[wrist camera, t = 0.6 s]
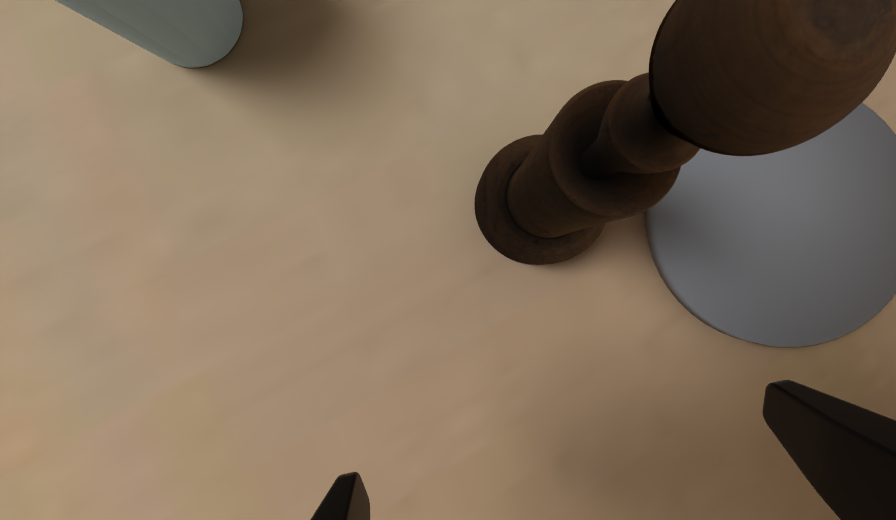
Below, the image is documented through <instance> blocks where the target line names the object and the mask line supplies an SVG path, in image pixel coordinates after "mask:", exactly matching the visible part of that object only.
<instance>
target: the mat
mask: <svg viewBox="0 0 896 520" xmlns="http://www.w3.org/2000/svg"><path fill="white" fill-rule="evenodd" d="M645 221H646V232H647V238H648V244H649V247H650V251H651V254H652V257H653V260H654V263H655V265H656V267H657V269H658V272H659V274H660V276H661V277H662V279H663V281H664V282H665V284H666V285H667V287H668V289H669V290H670V291H671V293H672V294H673V295H674V296H675V297H676V299H677V300H678V301H679V302H680V303H681V304H682V305H683V306H684V307H685V308H686V309H687V310H688V311H689V312H690V313H691V314H692V315H694V316H695V317H697V318H698V319H699V320H701V321H702V322H703V323H705V324H707V325H708V326H710V327H712V328H714V329H716V330H718V331H719V332H722V333H724V334H727V335H729V336H732V337H735V338H738V339H742V340H746V341H750V342H754V343H758V344H762V345H767V346H776V347H803V346H810V345H816V344H820V343H824V342H827V341H830V340H834V339H837V338H839V337H841V336H843V335H845V334H848V333H850V332H852V331H854V330H855V329H857V328H858V327H860V326H862V325H863V324H865V323H866V322H868V321H869V320H870V319H871V318H873V317H874V316H875V315H876V314H877V313H879V312H880V311H881V310H882V309H883V308H884V306H885V305H886V304H887V303H888V302H889V301H890V300H891V299H892V298H893V296H894V295H895V293H896V135H895V133H894V132H893V131H892V130H891V128H890V127H889V126H888V125H887V124H886V122H885V121H884V120H882V119H881V118H880V117H879V116H878V115H877V114H876V113H875V112H874V111H873V110H872V109H870V108H869V107H867V106H866V105H865V104H863V103H861V104H860V105H859V106H858V107H857V108H856V109H854V110H853V111H852V112H851V113H850V114H849V115H848V116H846V117H845V118H844V119H843V120H841V121H840V122H838V123H837V124H836V125H834V126H833V127H831V128H830V129H828V130H826V131H825V132H823V133H821V134H820V135H818V136H816V137H814V138H812V139H810V140H808V141H806V142H804V143H801V144H799V145H797V146H794V147H791V148H788V149H785V150H782V151H778V152H774V153H770V154H765V155H756V156H730V155H723V154H718V153H713V152H710V151H706V150H704V149H701V148H700V150H699V151H698V152H697V154H696V155H695V156H694V157H693V158H692V159H691V160H690V161H688V162H687V163H685V164H684V165H682V166H681V169H680V172H679V175H678V177H677V179H676V181H675V183H674V185H673V187H672V188H671V189H670V191H669V192H668V193H667V194H666V195H665V196H664V198H663V199H662V200H661V201H659V202H658V203H657V204H656V205H654V206H653V207H651V208H650V209H648V210H646V211H645Z"/></svg>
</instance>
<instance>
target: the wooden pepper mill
mask: <svg viewBox="0 0 896 520" xmlns="http://www.w3.org/2000/svg"><path fill="white" fill-rule="evenodd" d="M895 53H896V0H676V1H675V2H674V3H673V5H672V6H671V8H670V9H669V11H668V12H667V14H666V16H665V17H664V19H663V21H662V23H661V25H660V27H659V29H658V32H657V34H656V37H655V40H654V43H653V46H652V50H651V55H650V61H649V73H645V74H642V75H639V76H636V77H634V78H632V79H631V80H629V81H624V80H611V81H604V82H600V83H597V84H594V85H591V86H589V87H587V88H585V89H583V90H582V91H580V92H579V93H577V94H576V95H574V96H573V97H572V98H571V99H570V100H569V101H568V102H567V103H566V104H565V105H564V106H563V108H562V109H561V110H560V112H559V113H558V114H557V116H556V117H555V119H554V120H553V121H552V123H551V124H550V126H549V127H548V128H547V130H546V131H545V133H544V134H543V135H532V136H527V137H524V138H521V139H518V140H516V141H514V142H512V143H510V144H508V145H507V146H505V147H504V148H503V149H501V150H500V151H499V152H498V153H497V154H496V155H495V156H494V157H493V158H492V159H491V161H490V162H489V164H488V165H487V167H486V168H485V170H484V172H483V174H482V177H481V179H480V181H479V184H478V186H477V190H476V195H475V214H476V219H477V222H478V225H479V227H480V230H481V232H482V233H483V235H484V237H485V238H486V240H487V241H488V242H489V243H490V244H491V245H492V246H493V247H494V248H495V249H496V250H497V251H498V252H499V253H501V254H502V255H504V256H506V257H507V258H509V259H512V260H514V261H517V262H520V263H525V264H534V265H539V264H551V263H557V262H561V261H564V260H567V259H570V258H572V257H574V256H576V255H578V254H579V253H581V252H582V251H584V250H585V249H586V248H588V247H589V246H590V245H591V244H592V243H593V242H594V241H595V240H596V238H597V237H598V236H599V234H600V233H601V231H602V229H603V228H604V225H605V223H606V222H609V221H613V220H617V219H622V218H625V217H629V216H633V215H636V214H639V213H642V212H644V211H646V210H648V209H650V208H651V207H653V206H654V205H656V204H657V203H658V202H659V201H661V200H662V199H663V198H664V196H665V195H666V194H667V193H668V192H669V191H670V189H671V188H672V187H673V185H674V183H675V181H676V179H677V177H678V175H679V172H680V169H681V166H682V165H684V164H685V163H687V162H688V161H690V160H691V159H692V158H693V157H694V156H695V155H696V154H697V152H698V151H699V150H700V148H701V149H704V150H706V151H710V152H713V153H718V154H723V155H730V156H756V155H765V154H770V153H774V152H778V151H782V150H785V149H788V148H791V147H794V146H797V145H799V144H801V143H804V142H806V141H808V140H810V139H812V138H814V137H816V136H818V135H820V134H821V133H823V132H825V131H826V130H828V129H830V128H831V127H833V126H834V125H836V124H837V123H838V122H840V121H841V120H843V119H844V118H845V117H846V116H848V115H849V114H850V113H851V112H852V111H853V110H854V109H856V108H857V107H858V106H859V105H860V104H861V103H862V102H863V101H864V100H865V99H866V98H867V97H868V96H869V94H870V93H871V92H872V91H873V89H874V88H875V87H876V85H877V84H878V83H879V81H880V80H881V78H882V77H883V75H884V74H885V72H886V71H887V69H888V67H889V65H890V63H891V62H892V60H893V58H894V55H895Z"/></svg>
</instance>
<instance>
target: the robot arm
mask: <svg viewBox="0 0 896 520" xmlns="http://www.w3.org/2000/svg"><path fill="white" fill-rule="evenodd" d="M763 416H764V419H765V421H766V423H767V425H768V426H769V428H770V429H771V430H772V432H773V433H774V434H775V436H776V437H777V438H778V440H779V441H780V443H781V444H782V445H783V447H784V448H785V449H786V451H787V452H788V454H789V455H790V456H791V458H792V459H793V460H794V462H795V463H796V464H797V466H798V467H799V469H800V470H801V471H802V473H803V474H804V475H805V477H806V478H807V480H808V481H809V482H810V483H811V485H812V486H813V487H814V489H815V490H816V491H817V492H818V494H819V495H820V496H821V497H822V498H823V500H824V501H825V502H826V503H827V504H828V506H829V507H830V508H831V509H832V510H833V511H834V512H835V514H836V515H837V516H838V517H839V518H840V519H841V520H896V421H895V420H893V419H890V418H888V417H885V416H882V415H880V414H877V413H874V412H872V411H869V410H867V409H864V408H861V407H859V406H856V405H854V404H851V403H848V402H846V401H843V400H841V399H838V398H835V397H833V396H830V395H827V394H825V393H822V392H820V391H817V390H814V389H812V388H809V387H807V386H804V385H801V384H799V383H796V382H793V381H790V380H782V381H778V382H773V383H770V384H768V385H767V386H766V389H765V397H764V404H763ZM311 520H370V503H369V498H368V495H367V492H366V490H365V487H364V484H363V482H362V479H361V477H360V475H359V473H357V472H352V473H347V474H342V475H340V476H339V477H338V478H337V479H336V480H335V482H334V484H333V485H332V487H331V488H330V490H329V491H328V493H327V495H326V496H325V498H324V499H323V501H322V502H321V504H320V506H319V507H318V509H317V510H316V512H315V513H314V515H313V517H312V518H311Z"/></svg>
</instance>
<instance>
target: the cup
mask: <svg viewBox="0 0 896 520" xmlns="http://www.w3.org/2000/svg"><path fill="white" fill-rule="evenodd" d="M56 1H57V2H59V3H61V4H63V5H65V6H67V7H68V8H70V9H72V10H74V11H76V12H78V13H80V14H81V15H83V16H85V17H87V18H89V19H91V20H92V21H94V22H96V23H98V24H100V25H102V26H103V27H105V28H107V29H109V30H111V31H113V32H114V33H116V34H118V35H120V36H122V37H124V38H126V39H127V40H129V41H131V42H133V43H135V44H137V45H138V46H140V47H142V48H144V49H146V50H148V51H149V52H151V53H153V54H155V55H157V56H159V57H161V58H163V59H165V60H167V61H169V62H171V63H174V64H176V65H179V66H182V67H203V66H207V65H210V64H212V63H214V62H216V61H218V60H220V59H221V58H223V57H224V56H226V55H227V54H228V53H229V52H230V50H231V49H232V48H233V46H234V45H235V43H236V42H237V40H238V38H239V36H240V33H241V28H242V22H243V12H242V8H241V4H240V1H239V0H56Z"/></svg>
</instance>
